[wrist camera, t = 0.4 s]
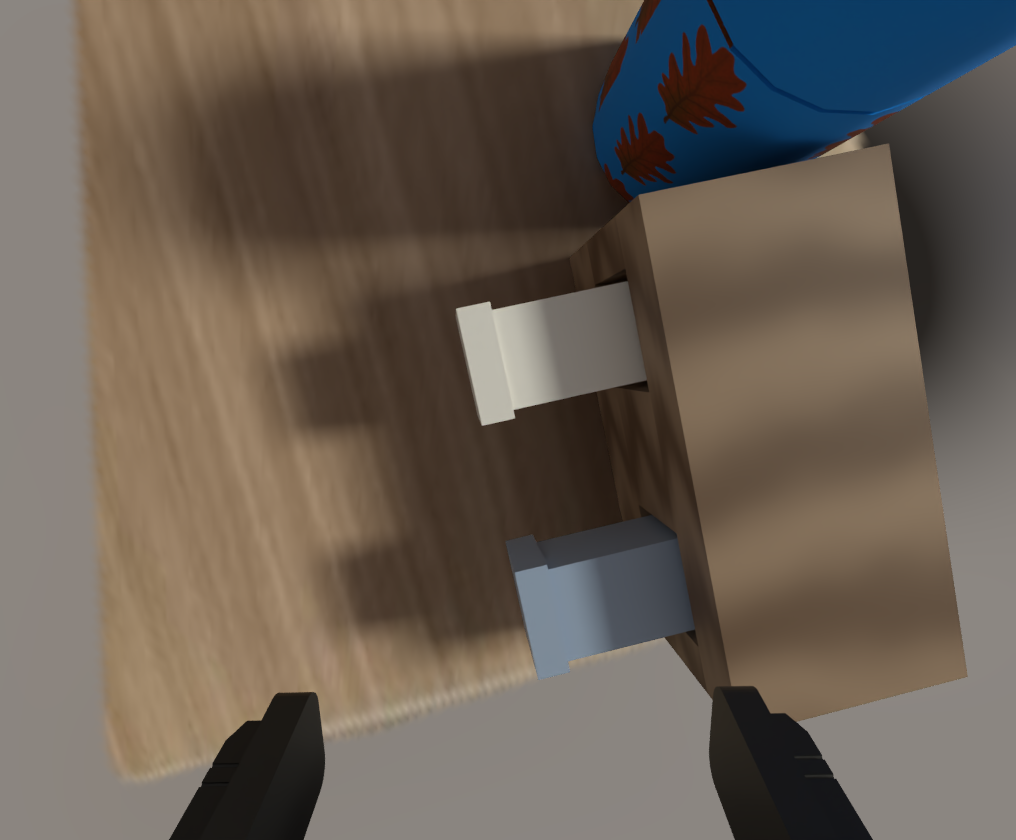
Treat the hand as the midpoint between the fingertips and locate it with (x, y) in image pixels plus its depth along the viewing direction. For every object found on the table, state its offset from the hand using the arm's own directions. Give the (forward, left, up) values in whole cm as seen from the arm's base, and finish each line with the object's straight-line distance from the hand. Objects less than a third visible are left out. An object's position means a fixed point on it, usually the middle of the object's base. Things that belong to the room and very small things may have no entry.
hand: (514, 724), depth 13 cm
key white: (-7, +7, -21) cm, 23 cm away
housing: (-1, +14, -26) cm, 30 cm away
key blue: (+5, +7, -21) cm, 23 cm away
